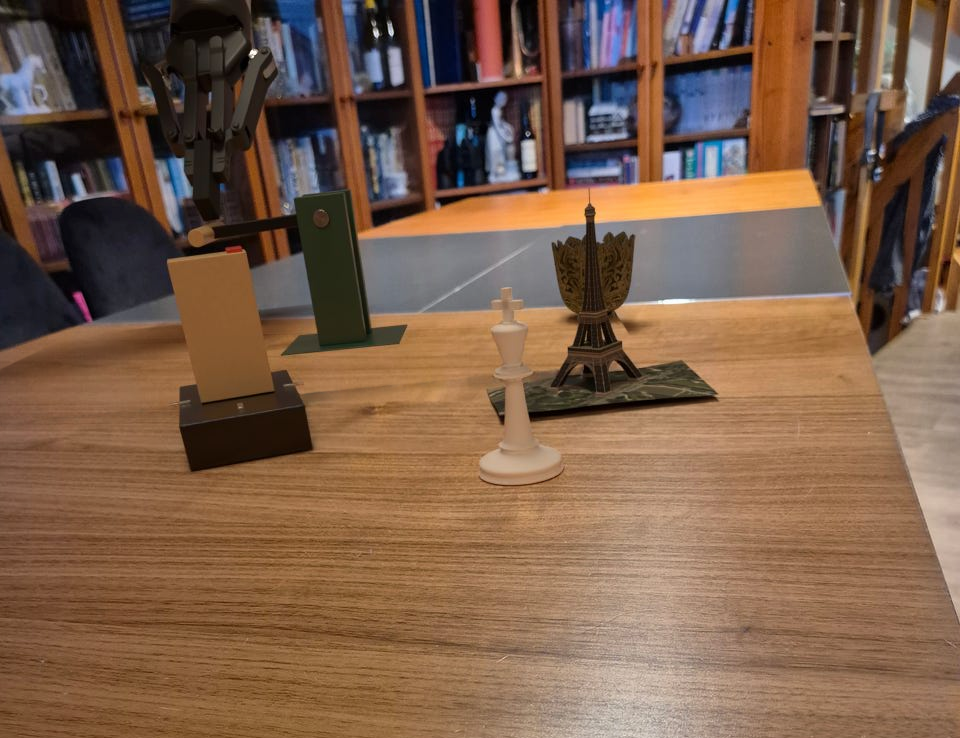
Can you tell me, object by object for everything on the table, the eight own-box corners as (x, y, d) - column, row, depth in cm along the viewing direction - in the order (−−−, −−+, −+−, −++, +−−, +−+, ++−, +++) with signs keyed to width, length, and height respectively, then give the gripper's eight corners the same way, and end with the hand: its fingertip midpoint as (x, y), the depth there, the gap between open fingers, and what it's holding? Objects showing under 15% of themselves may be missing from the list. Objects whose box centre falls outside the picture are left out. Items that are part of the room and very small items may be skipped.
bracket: (283, 367, 86) (250, 203, 79) (301, 347, 94) (272, 196, 87) (400, 355, 85) (378, 189, 78) (409, 336, 93) (388, 184, 86)
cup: (550, 340, 85) (544, 245, 81) (563, 323, 91) (558, 235, 87) (632, 335, 83) (630, 239, 79) (640, 319, 89) (638, 228, 85)
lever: (191, 254, 82) (183, 224, 80) (216, 244, 89) (208, 216, 87) (337, 231, 81) (331, 201, 79) (350, 223, 88) (345, 195, 86)
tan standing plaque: (201, 403, 63) (165, 257, 59) (200, 397, 65) (166, 255, 60) (274, 391, 64) (245, 247, 60) (272, 385, 66) (243, 245, 61)
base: (181, 427, 70) (170, 385, 69) (302, 407, 72) (294, 365, 70) (181, 473, 60) (168, 425, 58) (322, 448, 62) (313, 400, 60)
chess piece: (505, 454, 57) (489, 280, 52) (578, 460, 54) (569, 278, 49) (462, 481, 53) (441, 297, 48) (538, 489, 51) (525, 296, 46)
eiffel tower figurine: (496, 425, 62) (476, 206, 56) (486, 389, 71) (468, 197, 65) (719, 400, 62) (725, 179, 56) (680, 367, 71) (682, 173, 65)
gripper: (287, 35, 94) (288, 230, 87) (162, 51, 94) (153, 245, 88) (265, -38, 86) (264, 170, 80) (129, -20, 87) (117, 187, 81)
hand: (206, 209), depth 84 cm, fingers closed
